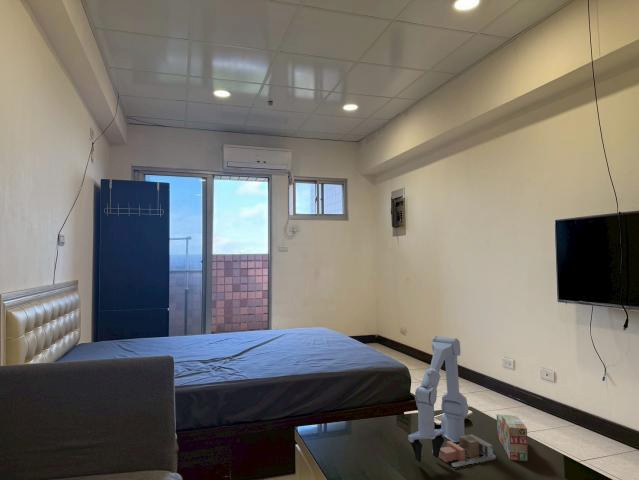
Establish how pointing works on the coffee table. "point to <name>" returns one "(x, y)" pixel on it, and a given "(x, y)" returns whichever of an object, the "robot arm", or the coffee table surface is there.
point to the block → (469, 446)
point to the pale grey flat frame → (484, 450)
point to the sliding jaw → (452, 452)
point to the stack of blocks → (513, 436)
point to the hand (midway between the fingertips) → (427, 458)
